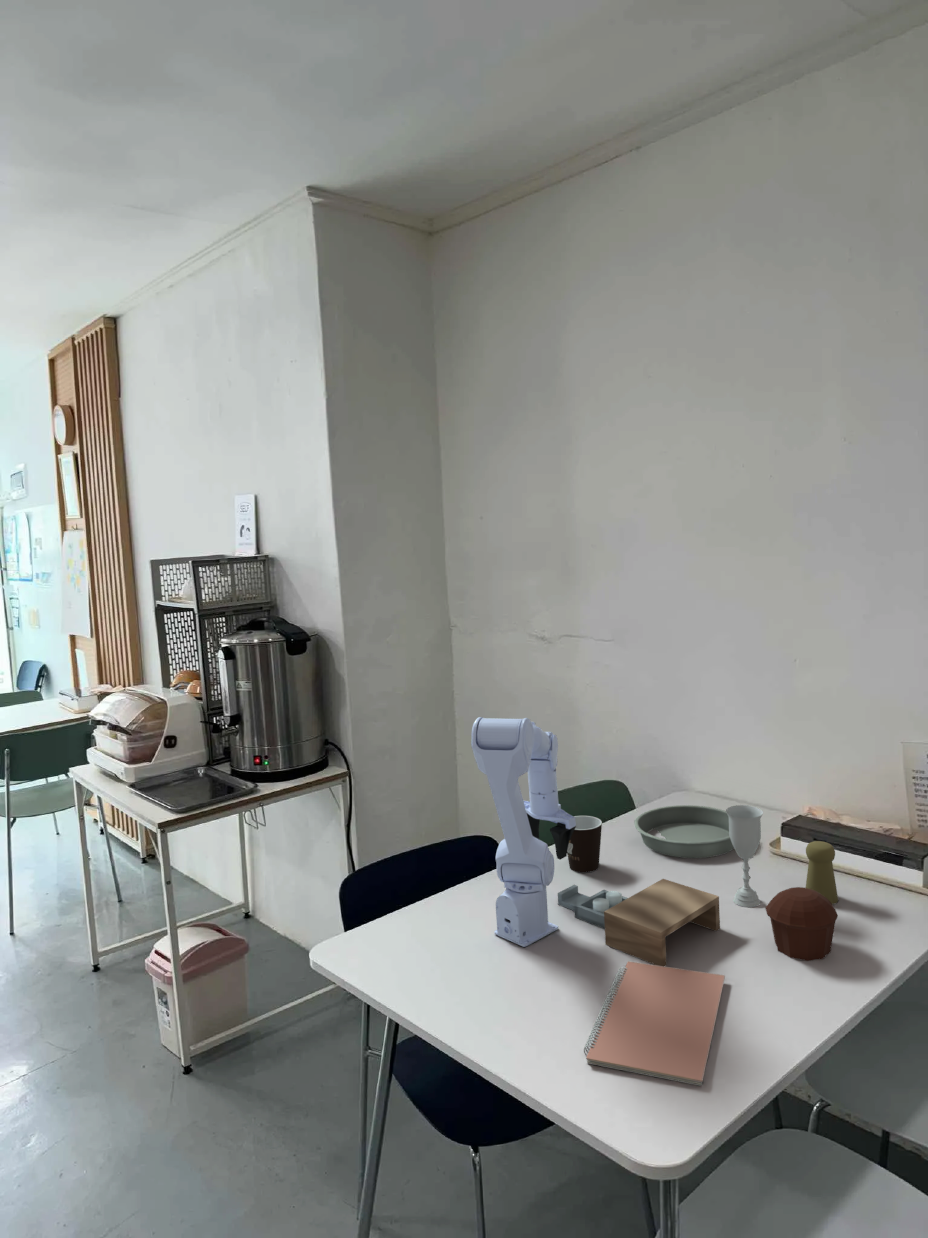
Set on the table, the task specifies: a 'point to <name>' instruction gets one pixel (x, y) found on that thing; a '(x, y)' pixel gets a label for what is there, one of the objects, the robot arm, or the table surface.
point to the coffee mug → (585, 844)
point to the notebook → (658, 1022)
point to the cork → (821, 870)
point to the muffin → (802, 923)
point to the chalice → (745, 846)
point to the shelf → (658, 918)
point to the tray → (589, 904)
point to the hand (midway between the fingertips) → (547, 852)
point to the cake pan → (686, 831)
